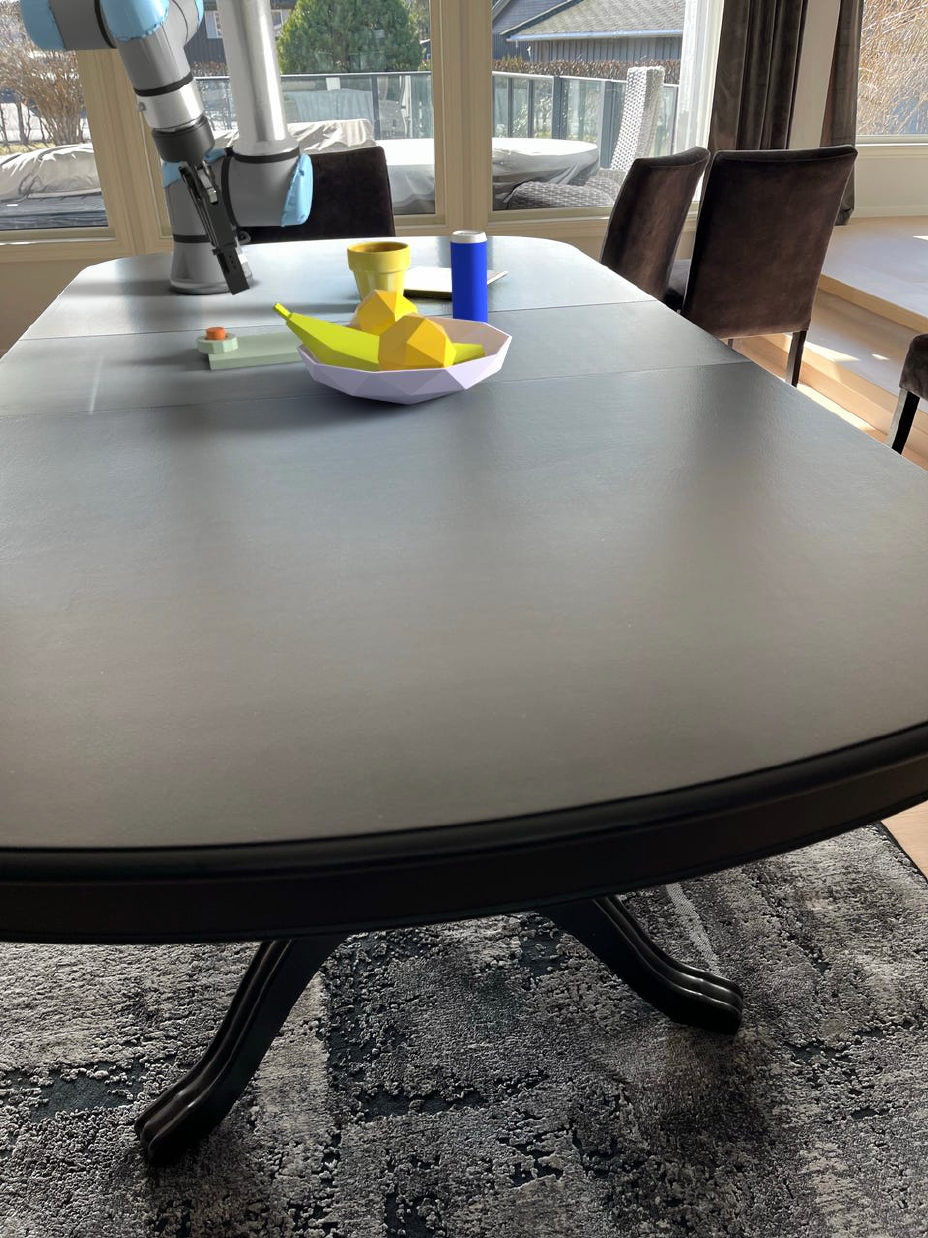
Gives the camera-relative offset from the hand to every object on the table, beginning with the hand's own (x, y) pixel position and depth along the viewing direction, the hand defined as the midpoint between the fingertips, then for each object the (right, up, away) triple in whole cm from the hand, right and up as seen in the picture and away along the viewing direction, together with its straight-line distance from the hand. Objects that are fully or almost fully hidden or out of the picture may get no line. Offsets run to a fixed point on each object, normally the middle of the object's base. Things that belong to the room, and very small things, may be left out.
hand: (239, 289), depth 139 cm
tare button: (-2, -9, -4) cm, 10 cm away
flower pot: (+19, +5, +22) cm, 30 cm away
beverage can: (+34, -7, +2) cm, 35 cm away
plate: (+29, +11, +33) cm, 45 cm away
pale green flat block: (+4, -10, -2) cm, 11 cm away
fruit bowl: (+25, -19, -17) cm, 35 cm away
